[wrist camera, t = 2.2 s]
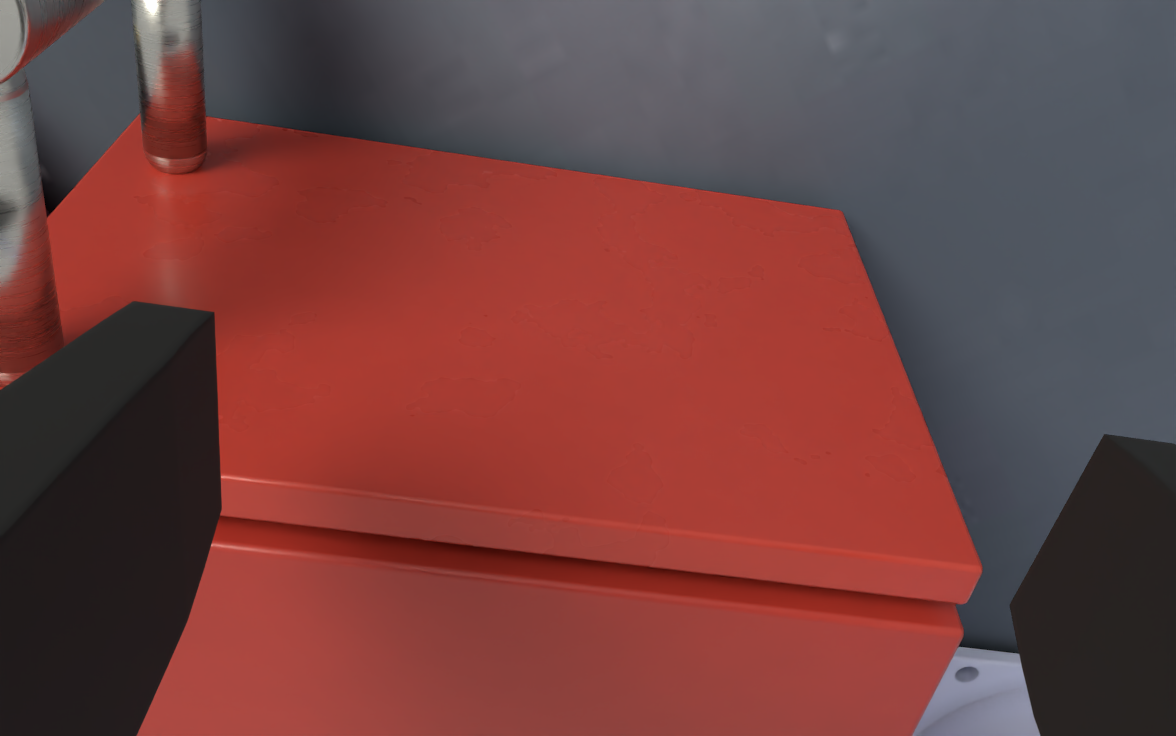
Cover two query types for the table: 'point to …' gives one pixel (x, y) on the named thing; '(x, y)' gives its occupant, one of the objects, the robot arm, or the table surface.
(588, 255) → the red cabinet door
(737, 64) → the table surface
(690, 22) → the table surface
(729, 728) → the cabinet
